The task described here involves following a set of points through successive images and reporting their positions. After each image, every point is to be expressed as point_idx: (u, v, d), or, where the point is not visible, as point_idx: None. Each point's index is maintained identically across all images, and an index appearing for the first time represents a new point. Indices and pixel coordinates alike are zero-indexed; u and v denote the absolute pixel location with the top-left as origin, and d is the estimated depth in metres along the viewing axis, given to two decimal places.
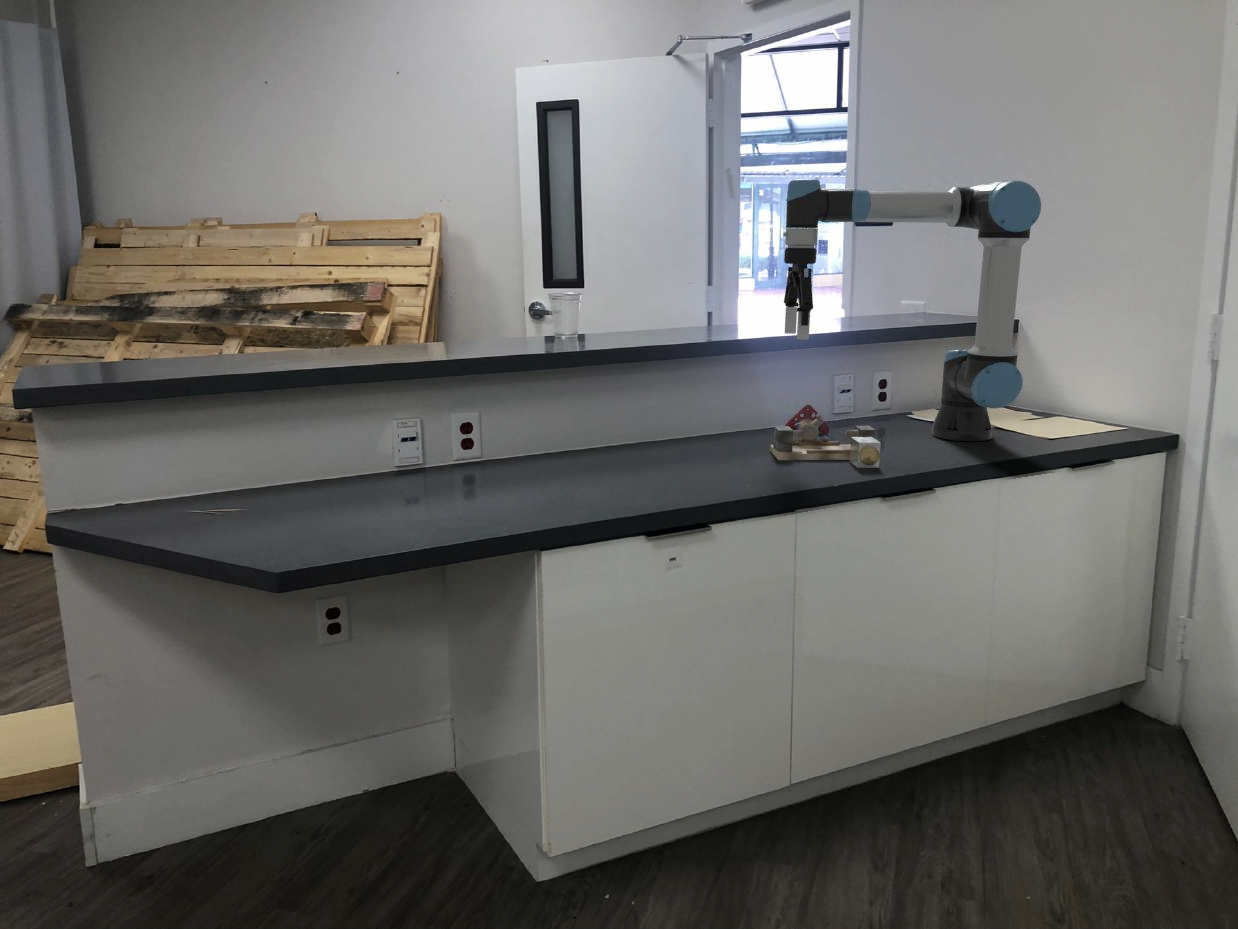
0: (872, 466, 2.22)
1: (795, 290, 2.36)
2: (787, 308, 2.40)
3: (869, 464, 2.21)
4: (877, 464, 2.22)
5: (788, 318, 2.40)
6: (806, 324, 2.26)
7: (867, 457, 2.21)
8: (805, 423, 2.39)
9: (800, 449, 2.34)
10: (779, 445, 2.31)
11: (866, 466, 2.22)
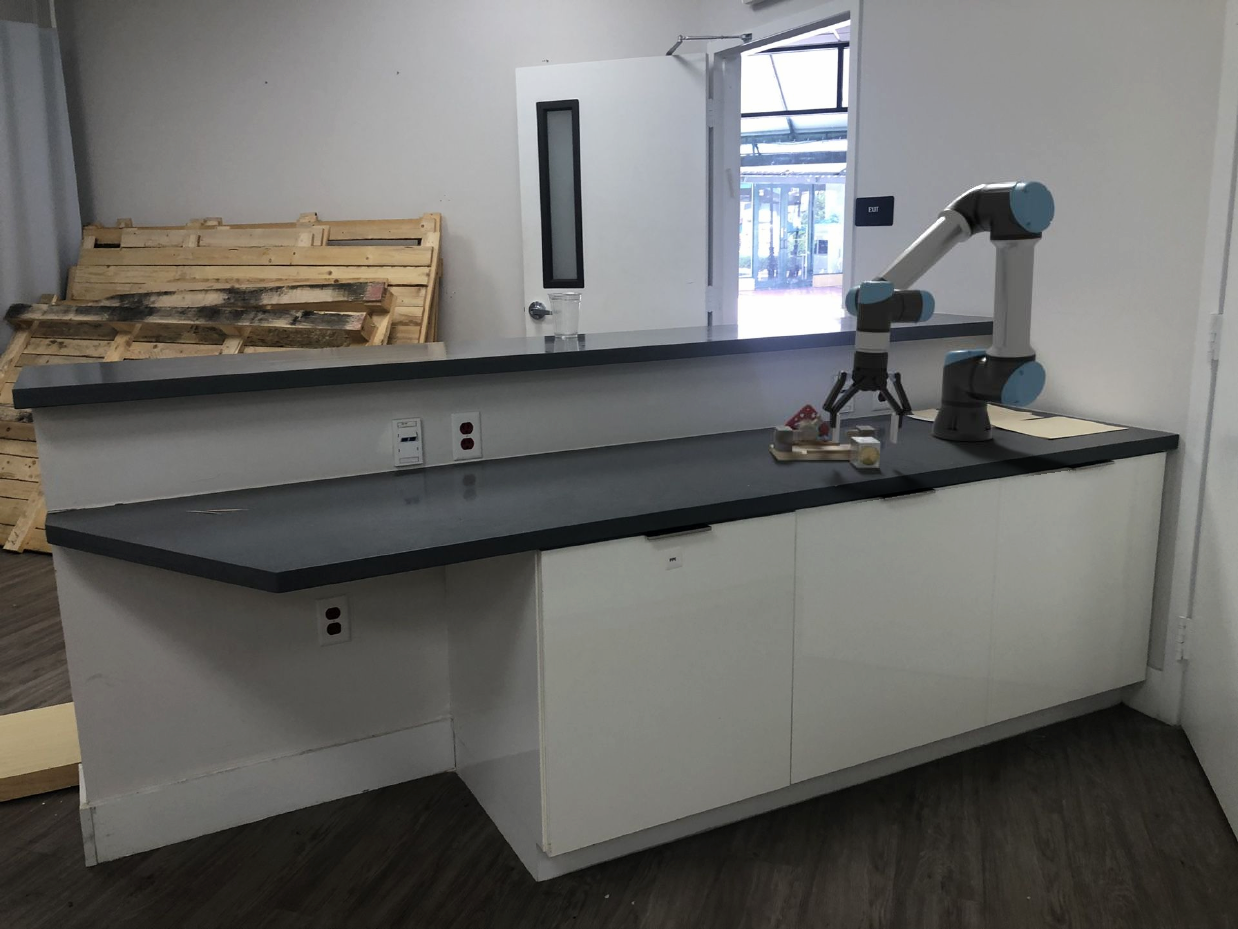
0: (872, 466, 2.22)
1: (884, 396, 2.22)
2: (892, 415, 2.24)
3: (869, 464, 2.21)
4: (877, 464, 2.22)
5: (891, 425, 2.24)
6: (830, 426, 2.22)
7: (867, 457, 2.21)
8: (805, 423, 2.39)
9: (800, 449, 2.34)
10: (779, 445, 2.31)
11: (866, 466, 2.22)
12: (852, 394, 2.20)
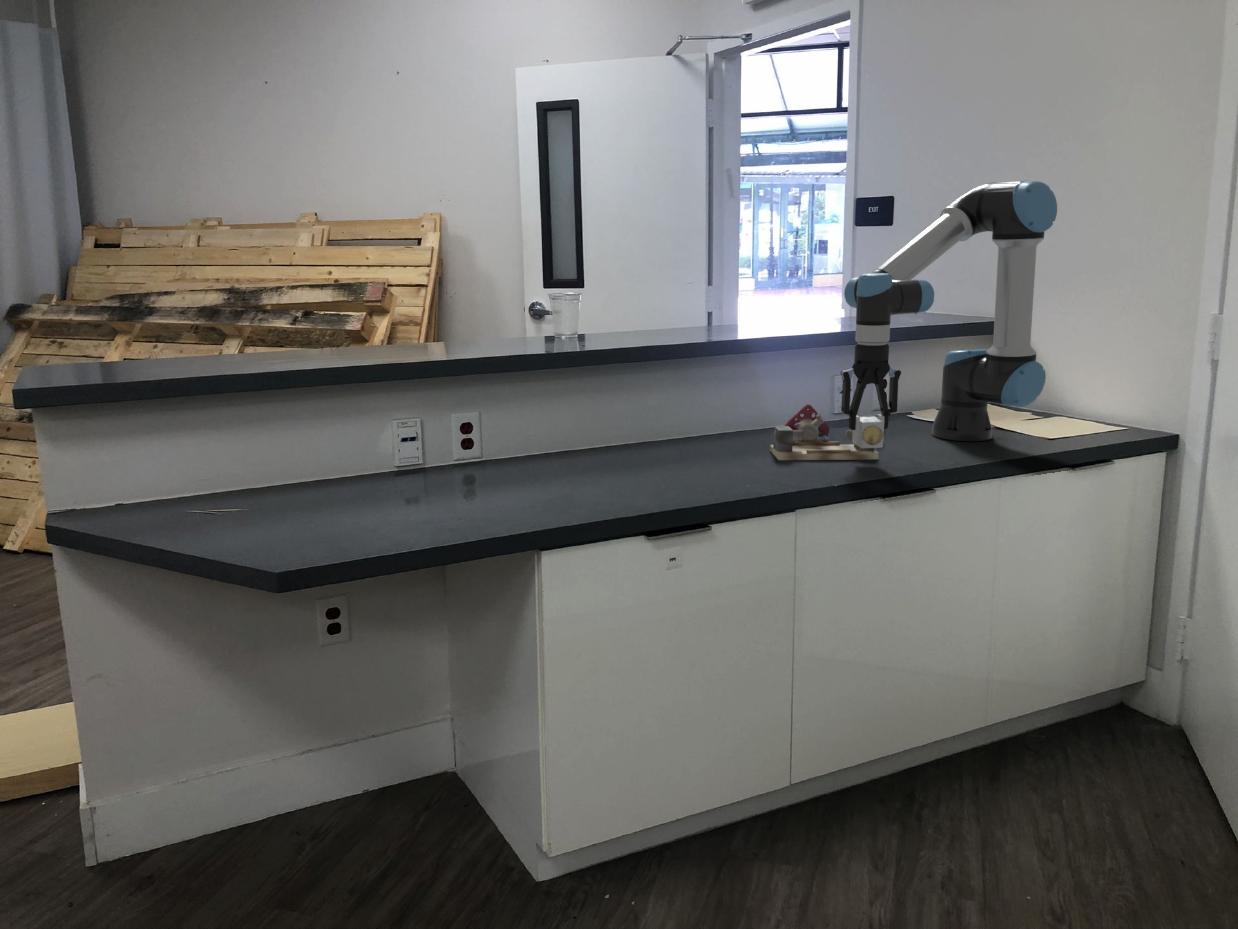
0: (876, 445, 2.21)
1: (878, 391, 2.22)
2: None
3: (873, 444, 2.20)
4: (881, 443, 2.21)
5: None
6: (850, 428, 2.23)
7: (870, 437, 2.20)
8: (805, 423, 2.39)
9: (800, 449, 2.34)
10: (779, 445, 2.31)
11: (870, 446, 2.21)
12: (862, 391, 2.20)
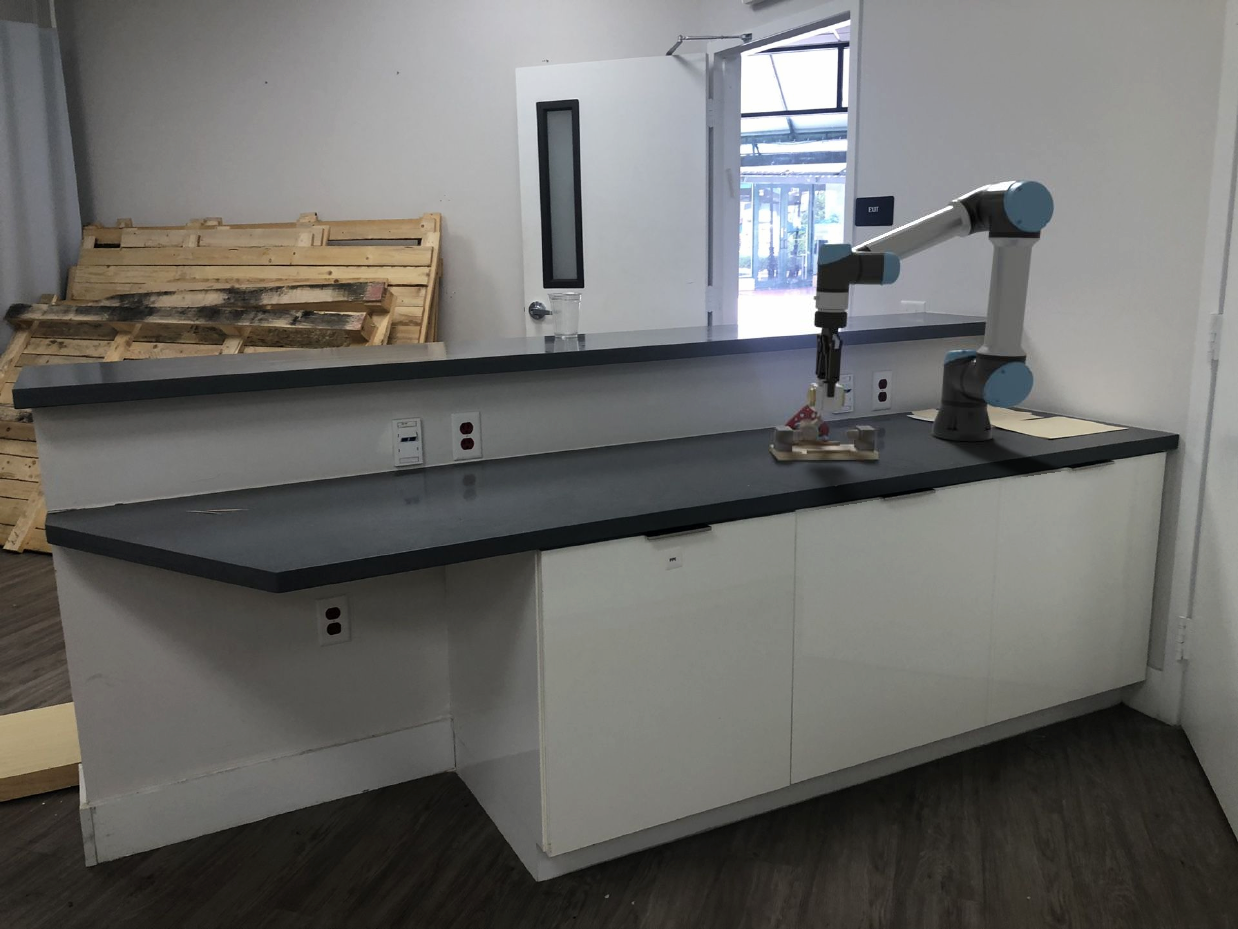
0: None
1: None
2: (819, 381, 2.33)
3: None
4: None
5: None
6: (832, 396, 2.27)
7: None
8: (805, 423, 2.39)
9: (800, 449, 2.34)
10: (779, 445, 2.31)
11: None
12: None
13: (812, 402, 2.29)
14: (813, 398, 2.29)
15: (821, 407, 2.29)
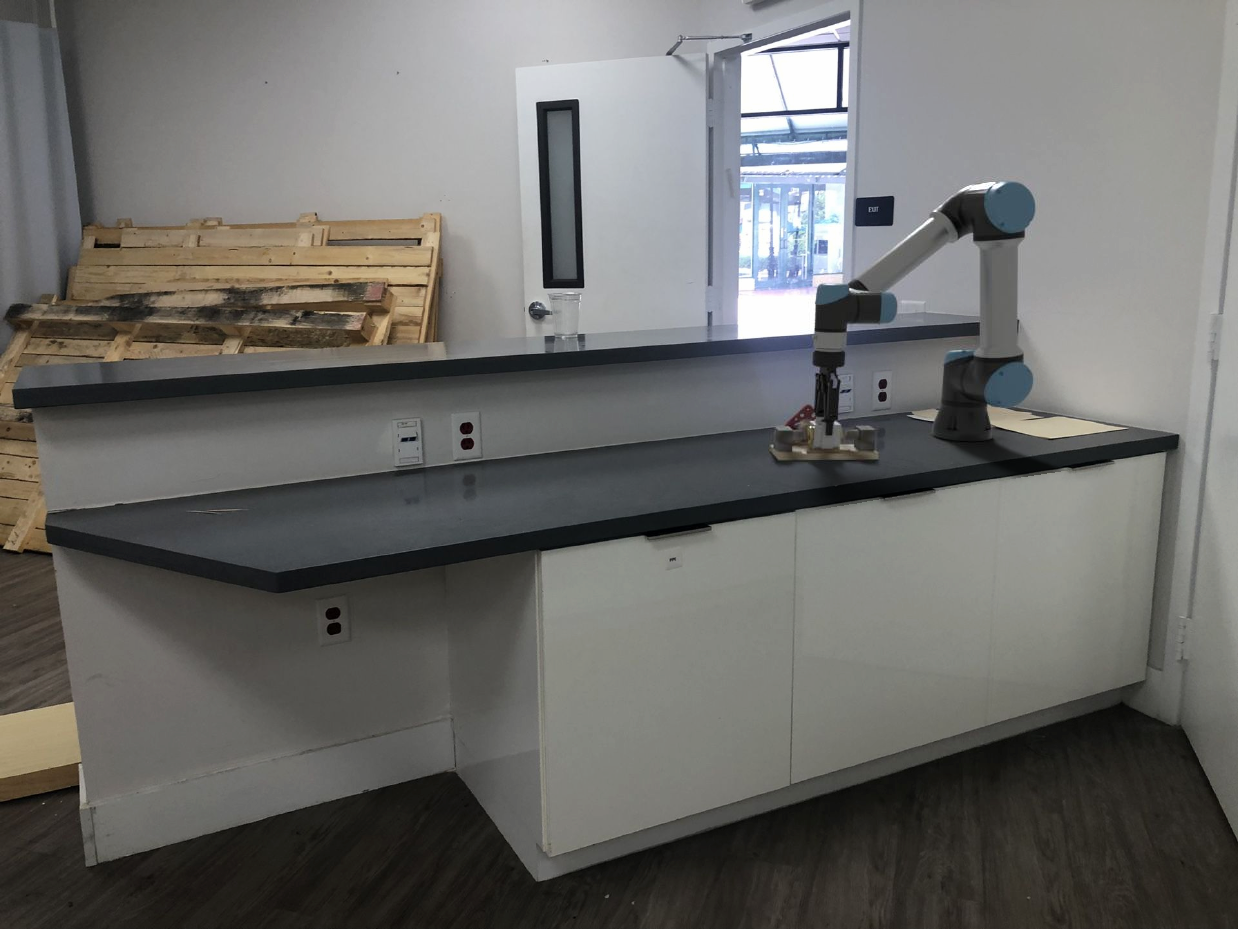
0: None
1: None
2: (818, 418, 2.35)
3: None
4: None
5: None
6: (830, 434, 2.29)
7: None
8: (805, 423, 2.39)
9: (800, 449, 2.34)
10: (779, 445, 2.31)
11: None
12: None
13: (811, 440, 2.31)
14: (812, 436, 2.31)
15: (819, 445, 2.31)
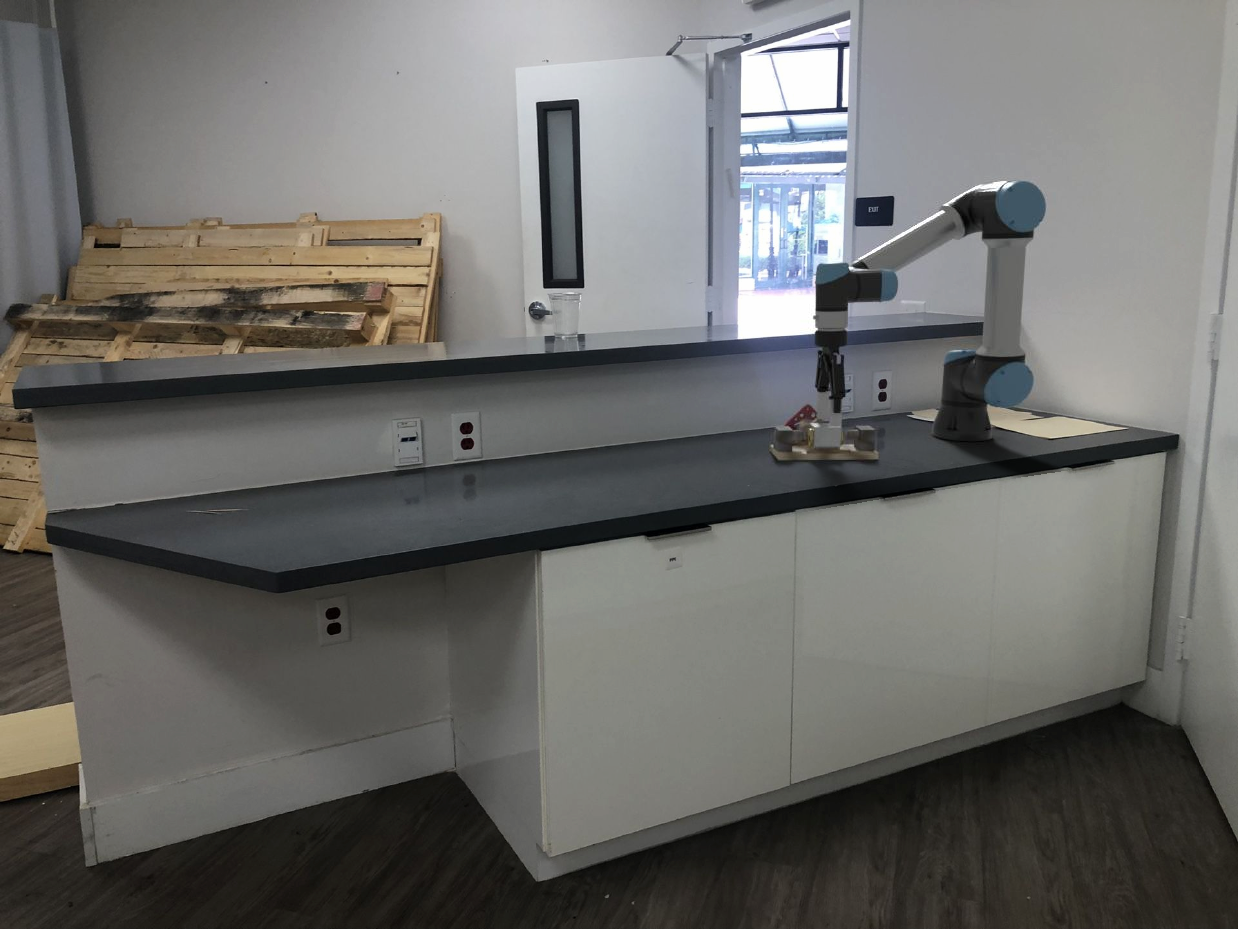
0: None
1: (827, 373, 2.33)
2: (819, 394, 2.35)
3: None
4: None
5: (821, 403, 2.36)
6: (839, 412, 2.24)
7: None
8: (805, 423, 2.39)
9: (800, 449, 2.34)
10: (779, 445, 2.31)
11: None
12: None
13: (811, 442, 2.31)
14: (812, 438, 2.31)
15: (820, 447, 2.31)
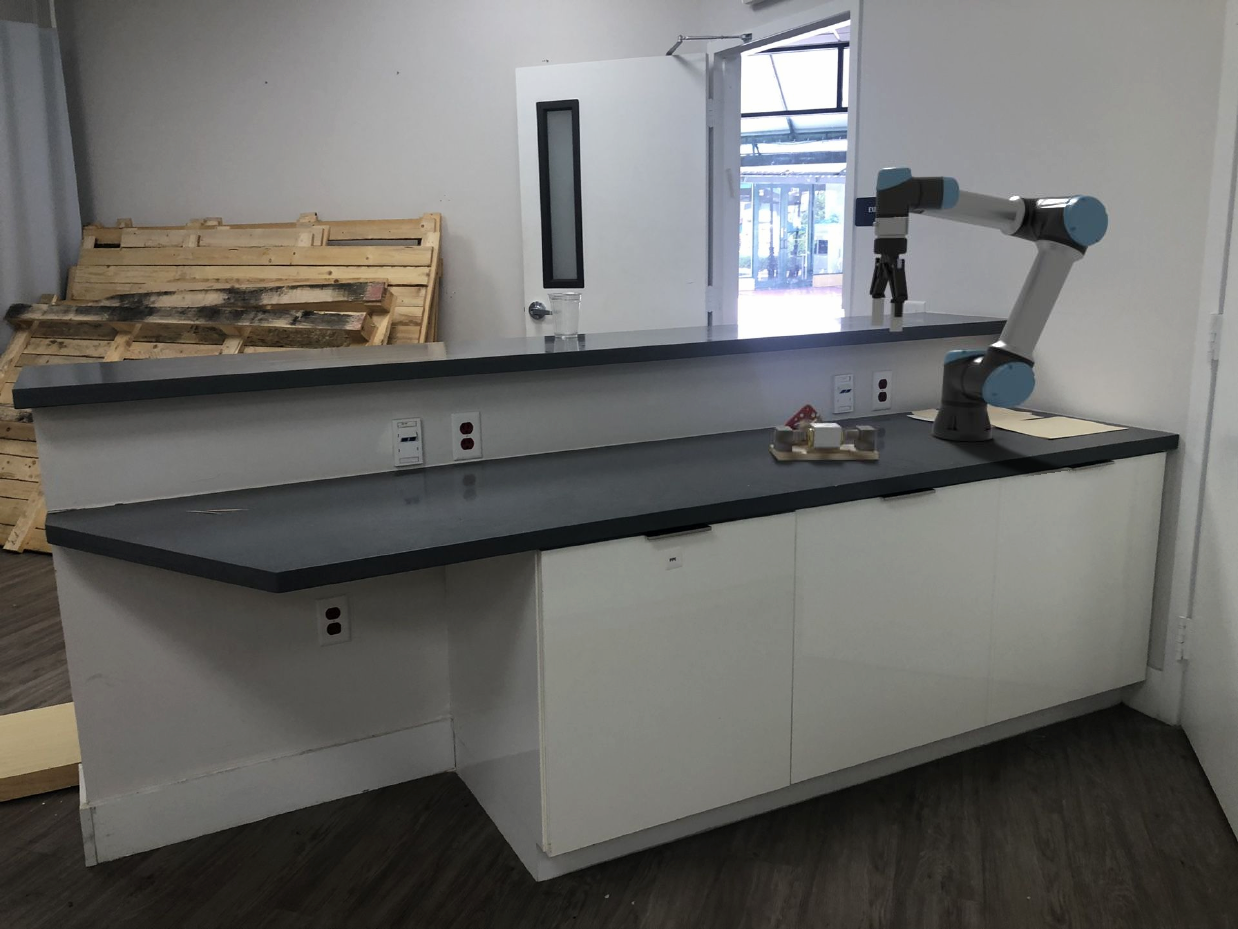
0: None
1: (883, 281, 2.31)
2: (874, 300, 2.35)
3: None
4: None
5: (875, 310, 2.36)
6: (900, 316, 2.21)
7: None
8: (805, 423, 2.39)
9: (800, 449, 2.34)
10: (779, 445, 2.31)
11: None
12: None
13: (811, 442, 2.31)
14: (812, 438, 2.31)
15: (820, 447, 2.31)
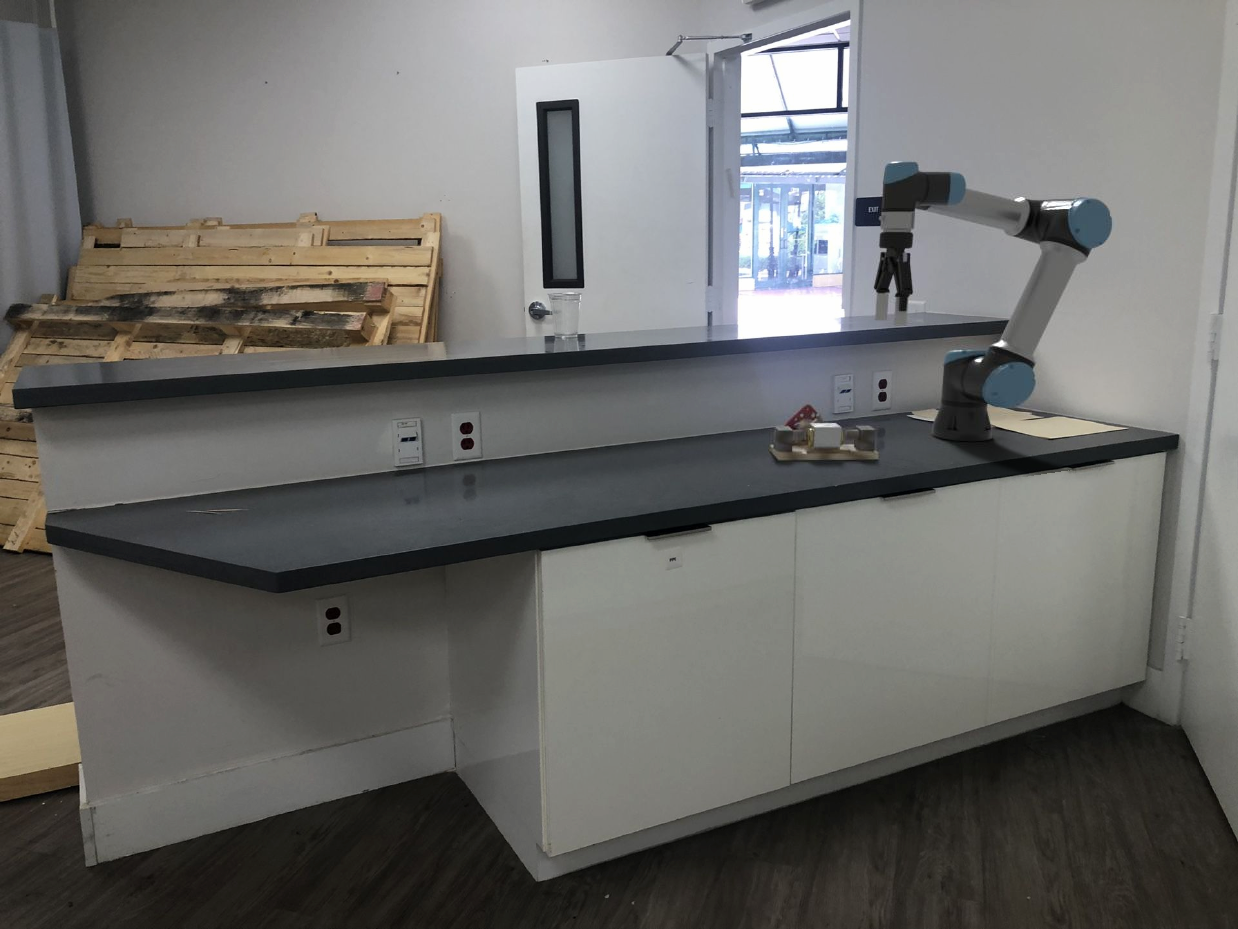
0: None
1: (888, 276, 2.31)
2: (878, 294, 2.35)
3: None
4: None
5: (880, 304, 2.35)
6: (904, 310, 2.21)
7: None
8: (805, 423, 2.39)
9: (800, 449, 2.34)
10: (779, 445, 2.31)
11: None
12: None
13: (811, 442, 2.31)
14: (812, 438, 2.31)
15: (820, 447, 2.31)
